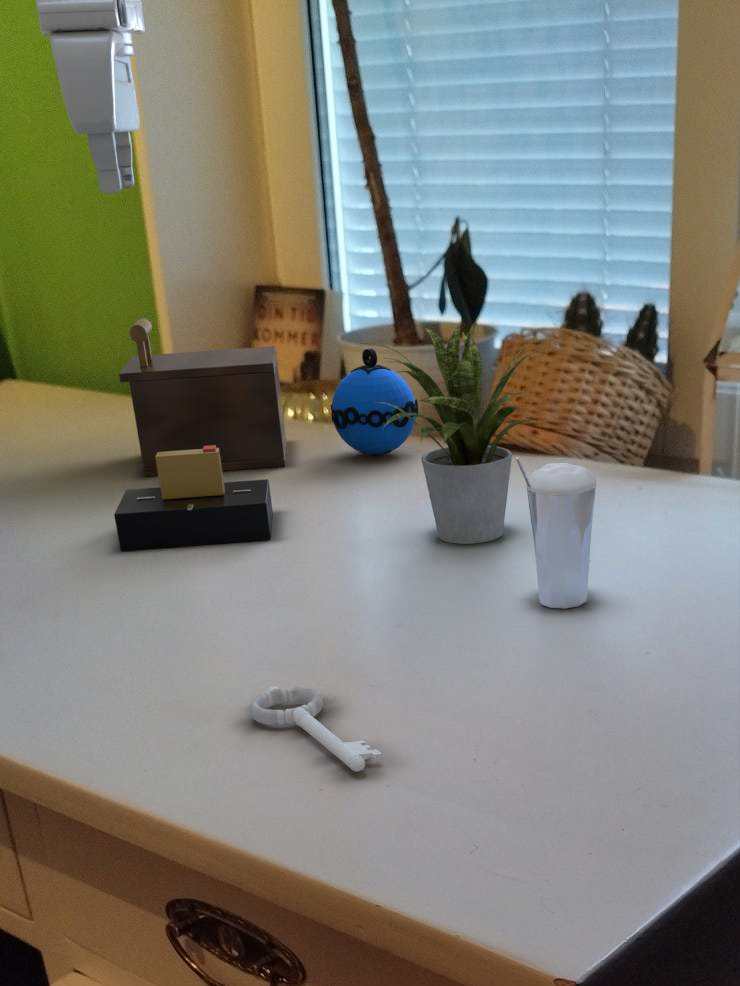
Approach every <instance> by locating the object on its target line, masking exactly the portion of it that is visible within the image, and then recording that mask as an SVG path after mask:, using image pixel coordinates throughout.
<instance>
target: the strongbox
mask: <svg viewBox="0 0 740 986" xmlns="http://www.w3.org/2000/svg"><path fill="white" fill-rule="evenodd" d="M128 384H129V389H130V396H131V401H132V402H131V403H132V407H133V414H134V420H135V426H136V431H137V437H138V443H139V449H140V455H141V460H142V461H141V462H142V466H143V472H144V476H145V477H157V476H158V470H157V464H156V454H157V452H166V451H180V450H194V449H203V447H204V446H211V445H216V448H219V451H220V458H221V465H222V472H226V471H227V472H228V471H239V470H240V471H241V470H252V469H253V470H254V469H255V470H256V469H266V468H267V469H268V468H282V467H283V468H284V467H286V461H287V460H286V459H287V446H288V445H287V434H286V425H285V416H284V409H283V407H284V406H283V399H282V389H281V381H280V372H279V364H278V356H277V355H276V361H275V369H274V372H262V373H248V374H234V375H220V376H206V377H192V378H177V379H163V380H149V381H135V382H128ZM158 477H159V476H158Z"/></svg>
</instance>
